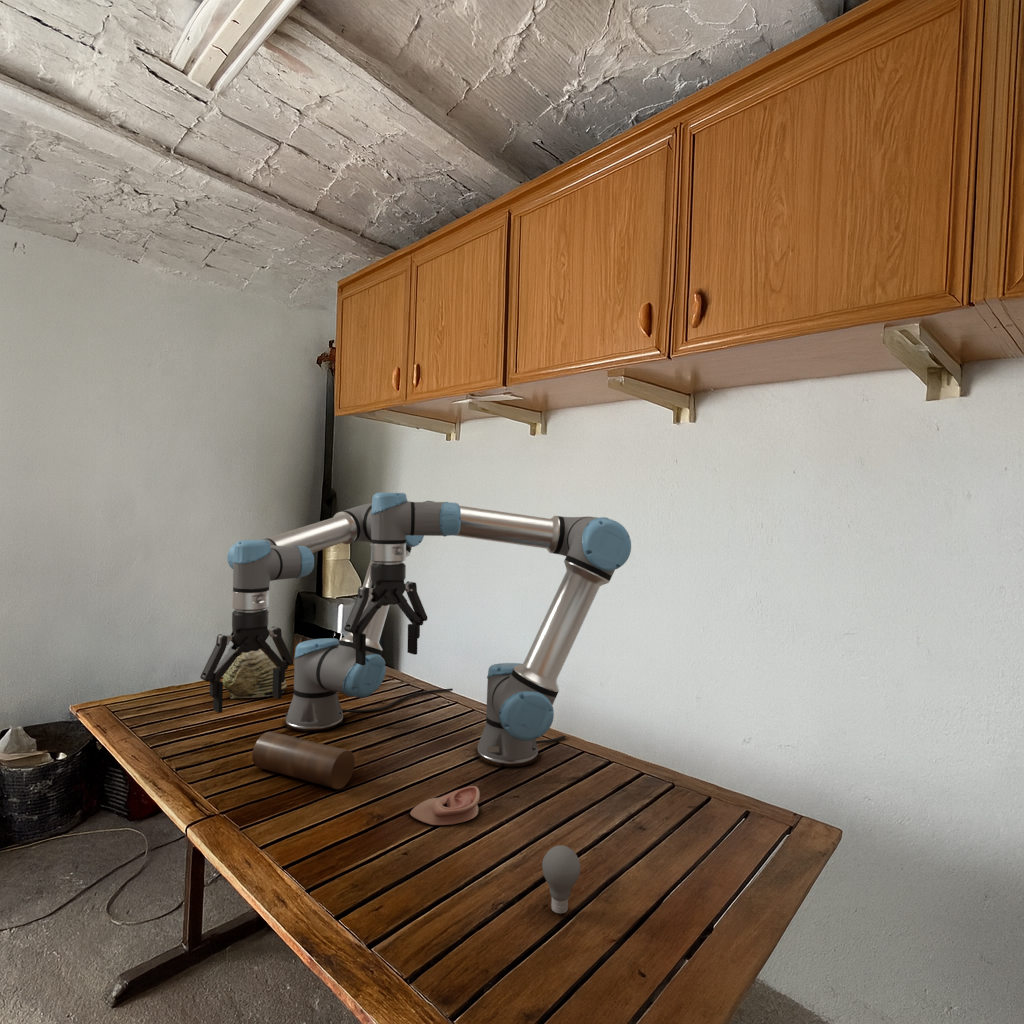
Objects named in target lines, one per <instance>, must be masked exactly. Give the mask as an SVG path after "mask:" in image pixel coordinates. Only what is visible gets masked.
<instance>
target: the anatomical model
mask: <svg viewBox="0 0 1024 1024" xmlns="http://www.w3.org/2000/svg"><path fill="white" fill-rule="evenodd" d="M480 794H481V793H480V789H479V788H478V786H475V785H471V786H465V787H462V788H459V789H456V790H454V791H451V792H449V793H447V794H444V795H442V796H439V797H432V798H429V799H426V800H424V801H422V802H420V803H419V804H417V805H415V806H414V808H412V809H411V811H410V812H409V814H410V816H411V817H412V818H414V819H415V820H417V821H419V822H422V823H425V824H427V825H431V826H446V825H456V824H460V823H465V822H468V821H470V820H472V819H474V818H476V817H477V816H478V814H479V805H478V803H479V801H480V796H481V795H480Z"/></svg>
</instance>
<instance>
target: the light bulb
mask: <svg viewBox="0 0 1024 1024" xmlns="http://www.w3.org/2000/svg"><path fill="white" fill-rule="evenodd" d="M541 868H542V869H541V870H542V874H543V877H544V879H545V881H546V883H547V885H548V888H549V894H550V896H551V903H550V905H551V906H550V909H551V910H552V911H553V912H554V913H556V914H564V913H566V912H568V908H569V907H568V905H569V898H570V896H571V892H572V889H573V887H574V886H575V885H576V883H577V881H578V880H579V877H580V874H581V861H580V859H579V857H578V855H577V854H576V852H575V851H574V850H573V849H571V847H569V846H566V845H561V844H560V845H555V846H553V847H551V848H550V849H549V850H548V851H547V852H546V853H545V855H544V856H543V859H542V864H541Z"/></svg>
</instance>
